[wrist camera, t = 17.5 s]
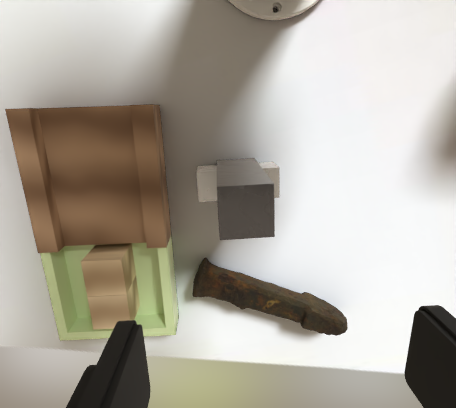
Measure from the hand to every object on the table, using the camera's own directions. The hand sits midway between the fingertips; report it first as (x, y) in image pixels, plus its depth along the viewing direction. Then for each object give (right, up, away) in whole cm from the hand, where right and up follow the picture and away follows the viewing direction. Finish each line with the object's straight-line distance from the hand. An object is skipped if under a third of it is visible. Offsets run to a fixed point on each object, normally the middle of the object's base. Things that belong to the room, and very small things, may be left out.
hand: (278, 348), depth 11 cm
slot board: (-15, +8, +22) cm, 28 cm away
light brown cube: (-14, -1, +25) cm, 29 cm away
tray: (-14, -4, +26) cm, 30 cm away
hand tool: (+4, -5, +28) cm, 28 cm away
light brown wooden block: (-14, -5, +26) cm, 30 cm away
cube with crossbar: (-1, +8, +23) cm, 24 cm away
